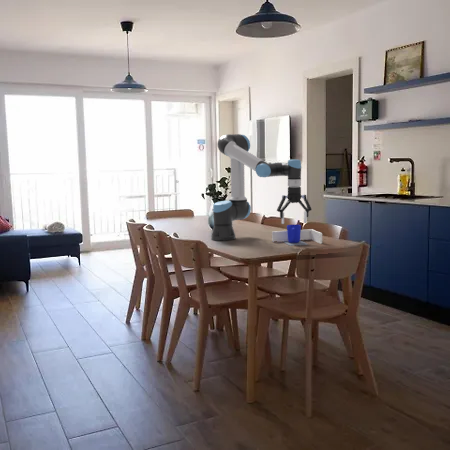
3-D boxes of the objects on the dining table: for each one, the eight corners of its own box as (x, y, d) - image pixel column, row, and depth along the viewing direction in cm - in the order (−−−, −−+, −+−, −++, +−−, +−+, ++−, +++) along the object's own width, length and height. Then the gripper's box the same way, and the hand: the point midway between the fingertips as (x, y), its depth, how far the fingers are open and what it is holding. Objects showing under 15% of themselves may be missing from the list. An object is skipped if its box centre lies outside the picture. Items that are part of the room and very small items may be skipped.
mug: (285, 244, 303) (285, 227, 301) (287, 241, 314) (287, 224, 313) (300, 244, 301) (300, 227, 300) (301, 241, 313) (301, 224, 311)
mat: (289, 245, 299) (289, 245, 299) (282, 241, 314) (282, 241, 314) (308, 244, 301) (308, 244, 301) (300, 240, 316) (300, 240, 316)
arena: (280, 246, 299) (279, 235, 299) (272, 241, 316) (271, 231, 315) (322, 243, 304) (322, 233, 303) (312, 238, 320) (312, 229, 320)
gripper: (275, 187, 297) (275, 225, 301) (317, 186, 302) (316, 223, 305) (271, 186, 305) (271, 223, 308) (312, 185, 309) (312, 221, 312)
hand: (294, 223), depth 306 cm, fingers open, 13 cm apart
